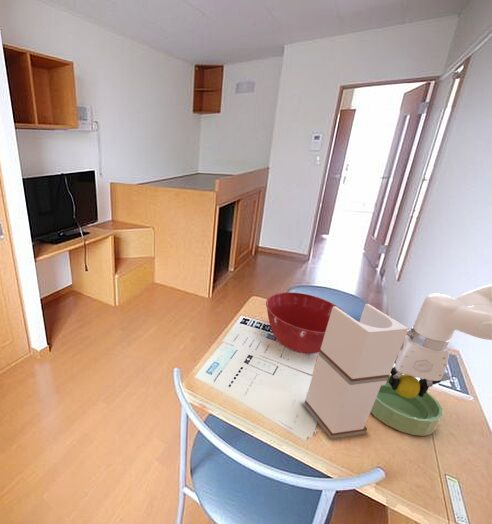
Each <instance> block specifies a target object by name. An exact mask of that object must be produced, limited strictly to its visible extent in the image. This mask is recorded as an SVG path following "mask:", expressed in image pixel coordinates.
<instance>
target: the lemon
mask: <svg viewBox="0 0 492 524" xmlns="http://www.w3.org/2000/svg"><path fill="white" fill-rule="evenodd" d="M399 379H400V382H399V384H398V386H397V389H396V392H397V393H398V394H399V395H400V396H401V397H404V398H414V397H416V396H417V395H418V394H419V392H420V383H419V380H418V378H417V377H414V376H410V375H406V374H402V375H401V376H400V377H399Z"/></svg>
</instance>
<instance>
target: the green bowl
mask: <svg viewBox="0 0 492 524" xmlns="http://www.w3.org/2000/svg"><path fill="white" fill-rule="evenodd" d="M390 377H391V374H390V375H389V377H388V380H387V382H386V384H385V385H381V387H380V390H379V392H378V395H377V397H376V400H375V402H374V404H373V407H372V409H371V412H370V414H372V415H373V416H374V417H375V418H376V419H378V420H379V421H381V422H382V423H384V424H385V425H387V426H388V427H390V428H393V429H395V430H397V431H399V432H402V433H405V434H408V435H413V436H421V437H425V436H429V435H432V434H433V433H434V432H435V431H436V429H437V427H438V426H439V424H440V422H441V420H442V418H443V417H444V409H443V407H442V406H441V404H440V403H439V401H438V400H437V399H436V398H435V397H434V396H433V395H432V394H431V393H430V392H428V391H427V392H426V393H424V395H423V397H420V396H419V395H417V396H416V397H414V398H404V397H401V396H400V395H399V394H398V393H397V392H396V390H393V389H392V387H391V385H390V384H389V379H390Z"/></svg>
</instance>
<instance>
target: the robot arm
mask: <svg viewBox="0 0 492 524" xmlns="http://www.w3.org/2000/svg"><path fill="white" fill-rule="evenodd" d="M455 331H457V332H460V333H463V334H466V335H469V336H471V337H475V338H476V339H477V338H478V339H482V340H486V341H487V340H488V341H492V283H491V284H488V285H484V286H481V287H478V288H476V289H473V290H469V291H467V292H465V293H462V294H460V295H459V296H457V297H456V298H455V297H452V296H451V295H450V296H449V295H447V294H440V293H432V294H429V295H427V296H426V297H425V298H424V300H423V302H422V304H421V307H420V310H419V312H418V314H417V317H416V319H415V321H414V323H413V326H412V327H411V329H410V330H409V329H408V332H407V334H406V336H405V339H404V341H403V344H402V346H401V348H400V351H399V353H398V356H397V358H396V360H395V363H394V366H393V368H392V370H391V372H390V375H391V377H390V379H389V384H390V385H391V387H392V389H393V390H396V389H397V386H398V384H399V382H400V379H399V377H400V376H401V375H404V374H406V375H410V376H414V377H415V378H417V379H418V378H419V380H418V381H419V383H420V392H419V394H418V395H419V396H420V397H423V395H424V393H426V392H428V389H429V388H432V387H433V385H437V384H440V383H441V382H446V381H450V379H451V378H450V376H449V374H448V373H447V372H446V370H447V366H448V363H449V357H450V348H449V347H448V345H449V343H450V341H451V339H452V337H453V335H454V333H455Z"/></svg>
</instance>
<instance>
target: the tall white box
mask: <svg viewBox="0 0 492 524" xmlns="http://www.w3.org/2000/svg"><path fill="white" fill-rule="evenodd" d="M336 306H337V305H336ZM336 306H334V307H333V308H332V311H331V315H330V318H329V321H328V325H327V328H326V332H325V335H324V339H323V342H322V345H321V349H320V352H318V355H317V360H316V363H315V366H314V369H313V372H312V376H311V379H310V383H309V387H308V390H307V392H306V393H307V394H306V397H305V399H304V403H303V405H304V407H305V408H306V409H307V411H308V413H310V415H311V416H312V417H313V419H315V421H316V422H317V424H319V426H320V427H321V429H322V430H323V431H324V432H325V434H326V435H327V436H328V437H329V439H338V438H345V437H352V436H357V435H358V436H359V435H365V434H366V432H367V430H368V427H367V426H366V423H367V422H368V419H369V416H370V415H371V409H372V407H373V404H374V402H375V400H376V397H377V395H378V392H379V390H380V387H381V385H385V384H386V382H387V380H388V377H389V375H391V373H390V372H391V370H392V368H394V366H395V360H396V358H397V356H398V353H399V351H400V348H401V346H402V344H403V341H404V339H405V337H406V336H407V335H406V334H407V332H408V331H409V327H407V326H405V325H404V324H403V323H401V322H399V321H397V320H396V319H394V318H392V317H391V316H390V315H388V314H386V313H385V312H383V311H381V310H379V309H378V308H376V307H375V306H373V305H371V304H369V303H365V304H364V307H363V310H362V313H361V315H360V318H359V321H358V320H356V319H355V318H353V317H352V316H350V315H349V314H348V313H346V312H345V311H344V310H343V309H342V310H343V311H344V312H343V311H342V310H340V309H341V308H340V307H339V308H340V309H339V308H337V307H336Z"/></svg>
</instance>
